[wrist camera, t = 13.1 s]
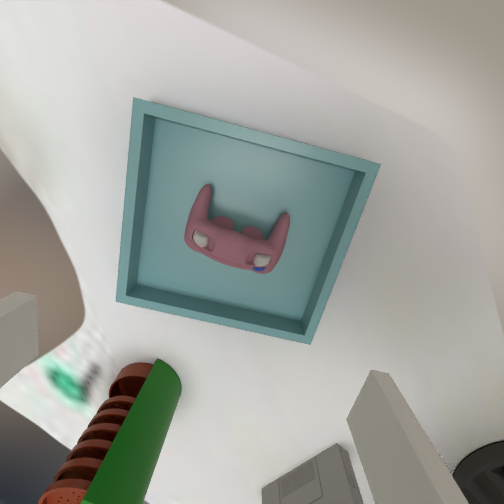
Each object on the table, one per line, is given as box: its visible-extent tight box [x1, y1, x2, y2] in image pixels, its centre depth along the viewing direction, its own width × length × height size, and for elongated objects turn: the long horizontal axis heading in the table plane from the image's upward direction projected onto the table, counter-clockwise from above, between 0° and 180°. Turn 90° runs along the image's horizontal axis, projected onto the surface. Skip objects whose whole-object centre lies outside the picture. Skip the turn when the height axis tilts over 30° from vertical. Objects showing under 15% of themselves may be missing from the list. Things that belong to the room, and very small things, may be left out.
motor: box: [38, 359, 181, 504], centre depth 28 cm, size 10×9×20 cm
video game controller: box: [184, 184, 290, 274], centre depth 26 cm, size 10×5×7 cm, turn 70°
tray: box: [116, 97, 381, 344], centre depth 28 cm, size 22×20×4 cm
